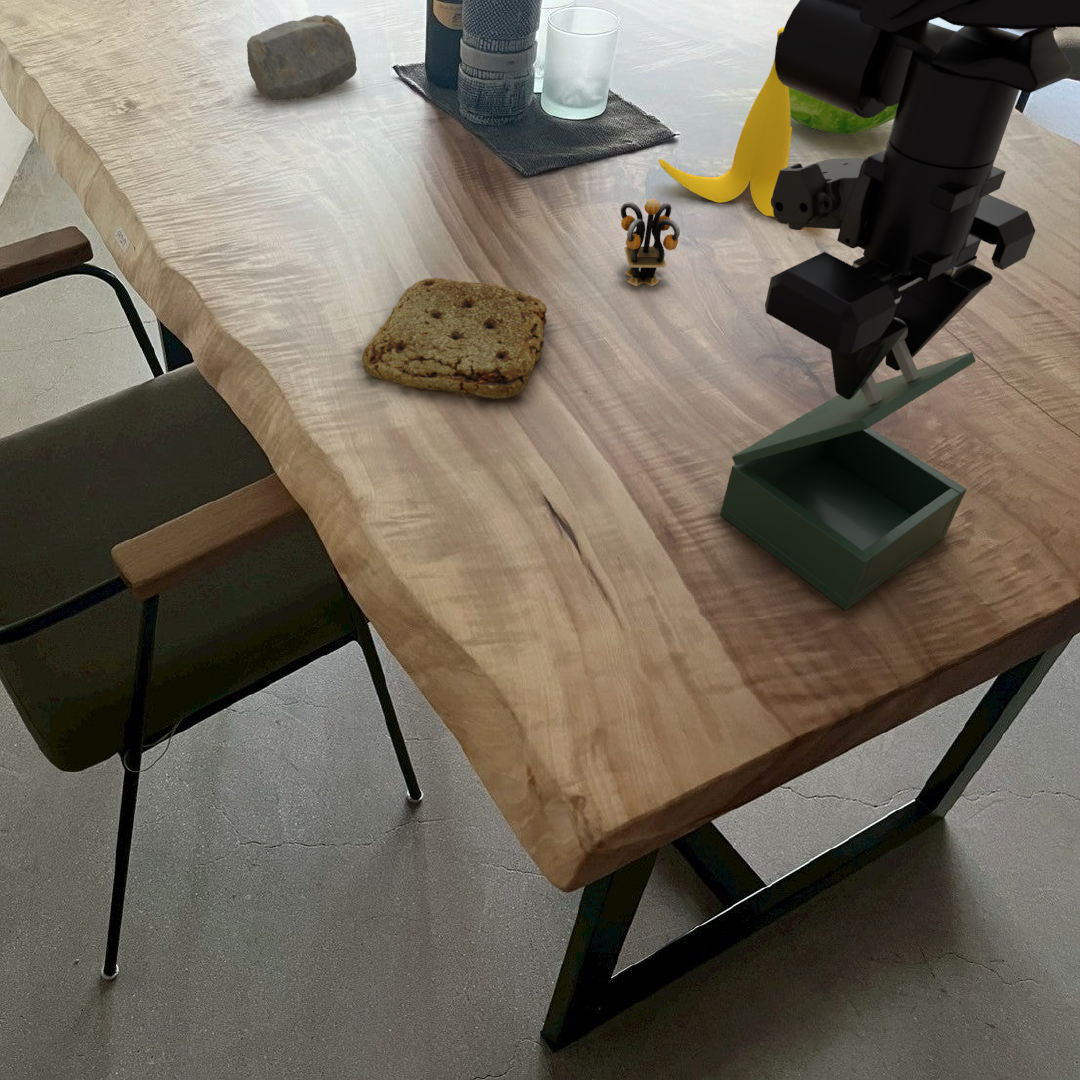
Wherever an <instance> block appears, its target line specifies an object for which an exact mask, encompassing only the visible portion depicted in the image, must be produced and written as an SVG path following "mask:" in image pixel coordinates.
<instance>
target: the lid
mask: <svg viewBox="0 0 1080 1080" xmlns="http://www.w3.org/2000/svg"><path fill="white" fill-rule="evenodd" d="M894 319H896V320H898V321H900V322H902V323H904V324H905V322H904V321H903V320H901V319H899V318H894ZM907 334H908V328H907V329H906V331H905V332H904V333H903V335H902V336H901V337H900V339H899V340H898V341H897V342H896V344H895V345H894V346H893V348H892V351H893V353H894V355H895V358H896V360H897V362H898V365H899V367H900V369H901V370H900V372H901V374H900V375H896V376H893V377H891V378H888V379H885V380H882V381H879V382H876V380H875V378H874V376H873V374H872V375H871V376H870V377H869V379H868V380H867V381H866V382H865V384H864V385H863V386H862V387H861V388H860V390H859V391H858V392H857V393H856V394H855V396H854V397H853V398H851V399H849V400H847V399H845V398H844V397H842V396H840V395H839V394H838V395H836V396H834V397H832V398H830V399H829V400H827V401H825V402H824V403H822V404H820V405H818V406H817V407H815V408H813V409H811V410H810V411H808V412H806V413H805V414H802V415H801V416H800V417H798V418H796V419H795V420H792V421H791V422H789V423H787V424H786V425H784V426H782V427H780V428H779V429H777V430H775V431H774V432H772V433H770V434H768V435H767V436H765V437H763V438H762V439H760V440H757V441H756V442H754V443H752V444H751V445H749V446H748V447H746V448H744V449H742V450H741V451H739V452H737V453H735V454H734V455H732V456H731V459H732V461H733V463H734V465H740V464H743V463H747V462H750V461H754V460H757V459H761V458H765V457H768V456H772V455H775V454H779V453H782V452H786V451H790V450H793V449H797V448H800V447H804V446H807V445H811V444H815V443H818V442H822V441H825V440H829V439H832V438H836V437H839V436H843V435H847V434H850V433H854V432H857V431H861V430H864V429H867V428H869V427H871V428H872V426H874V425H876V424H877V423H880V421H882V420H883V419H885V418H887V417H889V416H890V415H892V414H893V413H895V412H896V411H897V412H898V411H899V410H900V409H901V408H903V407H904V406H907V404H910V403H912V402H913V401H914V400H916V399H918V398H920V397H921V396H923V395H924V394H926V393H928V392H929V391H931V390H932V389H934V388H935V387H937V386H939V385H940V384H942V383H943V382H945V381H947V380H948V379H950V378H952V377H954V376H955V375H957V374H958V373H960V372H961V371H963V370H964V369H966V368H968V367H969V366H971V365H973V364H974V363H976V361H977V360H976V359H975V356H974V353H973V352H971V351H970V352H968V353H964V354H962V355H958V356H955V357H952V358H948V359H946V360H943V361H940V362H937V363H934V364H930V365H928V366H925V367H922V368H917V366H916V363H915V361H914V359H913V358H912V356H911V354H910V352H909V349H908V347H907V345H906V342H905V340H904V339H905V338H906V337H907Z"/></svg>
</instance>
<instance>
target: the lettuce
mask: <svg viewBox="0 0 1080 1080" xmlns="http://www.w3.org/2000/svg"><path fill="white" fill-rule="evenodd" d="M788 89H789V98H790V116H791V119H793V120H794V121H796V122H797V123H799V124H802V125H804V126H806V127H808V128H811V129H816V130H819V131H823V132H826V133H831V134H839V135H840V134H841V135H847V136H851V135H855V134H859V133H862V132H865V131H869V130H872V129H875V128H878V127H880V126H882V125H884V124H887V123H888V122H891V121H892V120H894V118H895V114H896V111H897V107H898V104H896V105H894V106H888V107H887V108H886V109H885V110H883V111H882V112H880V113H879V114H878V115H876V116H874V117H871V118H862V117H860V116H857V115H855V114H852V113H850V112H848V111H845V110H843V109H840V108H838V107H836V106H833V105H831V104H828V103H826V102H824V101H821V100H819V99H816V98H814V97H811V96H809V95H807V94H804V93H802V92H799V91H797V90H795V89H792V88H790V87H788Z"/></svg>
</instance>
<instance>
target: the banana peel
mask: <svg viewBox="0 0 1080 1080" xmlns="http://www.w3.org/2000/svg"><path fill="white" fill-rule="evenodd" d="M784 28H785V26H781V27H780V28H779V29H778V30H777V33H776V37H777V38H776V40H778V36H779V34H780V33H781V32H783V30H784ZM791 119H792V117H791V116H790V98H789V89H788V86H786V85H784V84H782V83H781V81H780V80H779V79H778V76H777V73H776V70H775V58H774V59H773V63H772V66H771V69H770V71H769V74H768V76H767V78H766V79H765V81H764V83H763V85H762V87H761V88H760V90H759V92H758V94H757V96H756V97H755V100H754V102H753V103H752V106H751V108H750V110H749V112H748V114H747V117H746V119H745V122H744V124H743V127H742V129H741V132H740V135H739V138H738V142H737V145H736V148H735V152H734V155H733V160H732V164H731V166H730V168H729V169H728V171H726V172H725V173H724V174H721V175H720V176H714V177H713V176H712V177H710V176H709V177H708V176H700V175H695V174H691V173H687V172H685V171H682V170H680V169H678V168H676V167H674V166H673V165H671V164H670V163H668V162H667V161H665V160H664V159H663V158H659V159H658V162H659V166H660V167H661V168H662V169H663V170H664V171H665V172H666V173H667V174H668V176H670V177H671V178H672V179H673V180H674V181H676V182H677V183H678V184H679V185H681V186H683V187H684V188H686V189H687V190H689V191H690V192H692V193H694V194H696V195H697V196H699V197H702V198H704V199H706V200H709V201H712V202H714V203H721V204H722V203H726V202H730V201H733V200H735V199H736V198H737V197H739V196H741V194H743V192H745V190H746V189H747V187H748V186H749V189H750V195H751V199H752V201H753V203H754V205H755V207H756V209H757V210H758V211H759V212H760V213H761V214H763V216H767V217H772V218H775V217H774V213H773V207H772V205H771V198H772V195H773V191H774V188H775V184H776V181H777V178H778V175H779V172H780V170H782V169H784V168H787V167H789V157H790V148H791V141H792V133H793V127H792V126H791Z"/></svg>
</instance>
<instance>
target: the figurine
mask: <svg viewBox="0 0 1080 1080" xmlns="http://www.w3.org/2000/svg"><path fill="white" fill-rule="evenodd" d="M628 208H629V209H631V210H632V211H633V212H634V213H635V215H636V218H635V217H634V216H632V215H628V214H627V209H628ZM644 211H645V212H646V213H647V220H646V223H645V221H644V217H643V213H642V210H641V208H639V206H638V205H637V204H636V203H634V202H630V201H626V202H624V203H623V204H622V205H621V207H620V216H621V219H622V220H621V222H620V226H621V228H622V229H623V230H624V231H626V232H627V233H626V240H625V245H626V246H624V248H623V249H624V250H623V251H624V253H625V256H626V260H627V265H628V267H629V269H628V270H627V271H625V275H627V276H628V277H630V278H629V279H628V280H627V283H628V284H630V285H632V286H634V287H638V286H639V285H641V284H642V283H643V284H645V285H648V286H650V287H654V286H656V284H658V283H659V280H658V278H657V277H656V276H655V275H656V274H657V272H656V271H657V268H659V269H661V268H662V269H663V268H666V266H667V264H666V263H667V262H666V261H665V254H666V253H665V249H666V250H667V251H674V250H675V249H676V248H677V246H678V245H679V237H680V235H681V231H680V226H679V225H678V223H677V222H676V221H675V220H673V219H671V217H670V216H671V213H672V205H671V204H670V203H669V202H663V203H662V204H660V202H659V201H658V200H657V199H655V198H649V199H647V201H646V202H645V204H644ZM664 211H665V212H664ZM663 212H664V215H662V213H663ZM670 227H671V228H672V230H673V232H674V233H673V234H672V233H670V234H667V235H666V236H664V238H663V240H662V241H661V234H662V232H665V231H668V230H669V229H670ZM651 236H652V237H653V239H654V240H653V241H654V242H653V245H652V246H650V245H651V238H652V237H651ZM643 242H644V243H643ZM642 245H643V246H642Z"/></svg>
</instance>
